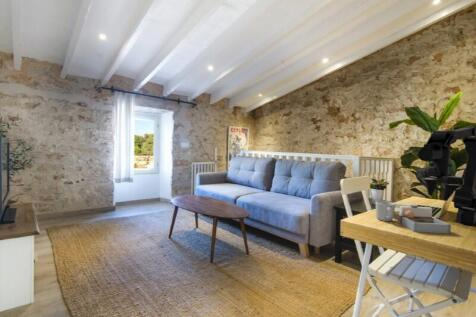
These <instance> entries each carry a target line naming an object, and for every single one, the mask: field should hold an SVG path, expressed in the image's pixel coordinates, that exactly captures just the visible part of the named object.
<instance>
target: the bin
mask: <svg viewBox="0 0 476 317" xmlns="http://www.w3.org/2000/svg"><path fill="white" fill-rule="evenodd" d="M432 218H433V217H432ZM401 225H402V226H403V227H405V228H407V229H409V230H410V231H412V232H414V233H415V232H416V233H433V234H434V233H435V234H451V228H452V225H451V224H450V223H447V222H445V221H443V220H441V219H438V218H435V217H434V218H433V223H416V222H414V221H412V220H410V219H408V218H406V217H402V223H401Z"/></svg>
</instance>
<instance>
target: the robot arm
mask: <svg viewBox="0 0 476 317" xmlns="http://www.w3.org/2000/svg"><path fill="white" fill-rule="evenodd" d="M458 140H461V142H462V143H463V145H464V150H465V152H466V154H467V161H466V165H465V170H464V173H463V174H464V175H463V177H461V176H456V175H455V176H454V175H452V173H449V172H450V168H451V167H453V164H452V163H450V162H451V161H450V160H451V151H453V150H454V147H453V146H451V145H453V144H456V143H457V141H458ZM417 156H418V158H419V160H421V161H423V162H429V163H428V165H427V166H424V167H421V168H418V169H416V170H415V171H416V172H415V173H416V176H417V178H420V181H422V182H423V183H424V184H425V188H426V191H427V194H428V196H430V197H431V196H433V194H434V191H435V188H436V187H437V183H438V181H440V183H439V184H440V185H441V187H442V189H443V190H442V192H443V195H442V196H443V197H442V198H443V201H444V202H447V201H448V200H449V199H450V198H451V197H452V195H453V194H454V196H453V199H452V202H453V207H454V208H455V209H457V211H456V217H455V218H456V219H454V220H453V221H454V222H457V223H459V224H462V225H464V226H476V126H465V127H461V128H458V129H453V130H452V129H451V130H433V131H432V133H431V134H430V136H429V137H428V139H427V142H426V143H424V144H423V147H421V148H420V149H419V150H418V152H417Z"/></svg>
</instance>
